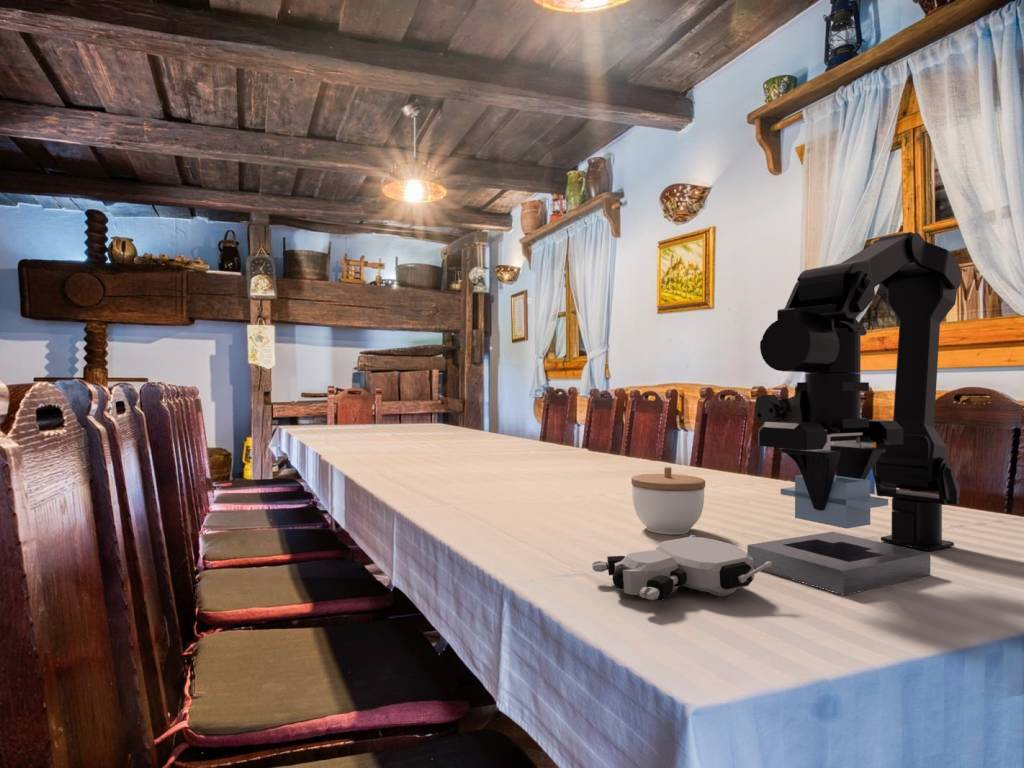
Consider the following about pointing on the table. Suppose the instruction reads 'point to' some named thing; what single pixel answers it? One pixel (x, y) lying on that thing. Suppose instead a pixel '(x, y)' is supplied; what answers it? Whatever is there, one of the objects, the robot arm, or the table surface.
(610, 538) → the table surface
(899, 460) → the robot arm
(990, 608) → the table surface
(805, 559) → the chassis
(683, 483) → the lidded jar
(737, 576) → the robot toy
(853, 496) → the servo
